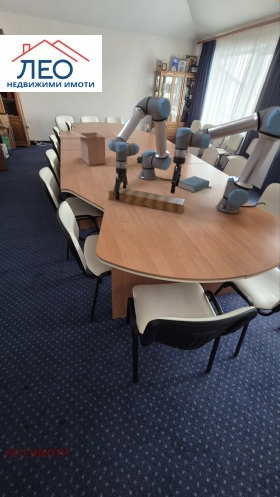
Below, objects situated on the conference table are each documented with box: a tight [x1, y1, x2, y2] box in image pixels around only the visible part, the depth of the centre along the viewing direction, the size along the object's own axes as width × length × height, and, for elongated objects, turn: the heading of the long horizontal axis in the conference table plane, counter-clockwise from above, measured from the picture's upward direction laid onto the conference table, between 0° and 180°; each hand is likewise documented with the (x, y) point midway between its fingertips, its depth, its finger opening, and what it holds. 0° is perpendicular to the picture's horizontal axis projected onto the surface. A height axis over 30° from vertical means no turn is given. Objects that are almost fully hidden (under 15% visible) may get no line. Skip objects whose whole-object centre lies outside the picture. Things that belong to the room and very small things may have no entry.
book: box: [178, 175, 211, 193], centre depth 191 cm, size 23×16×5 cm
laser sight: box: [136, 153, 143, 164], centre depth 239 cm, size 10×22×10 cm, turn 78°
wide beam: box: [108, 185, 186, 214], centre depth 158 cm, size 54×10×6 cm, turn 72°
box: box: [70, 129, 114, 166], centre depth 229 cm, size 44×36×27 cm
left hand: (121, 196), depth 163 cm, fingers open, 13 cm apart
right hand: (174, 189), depth 147 cm, fingers open, 13 cm apart
